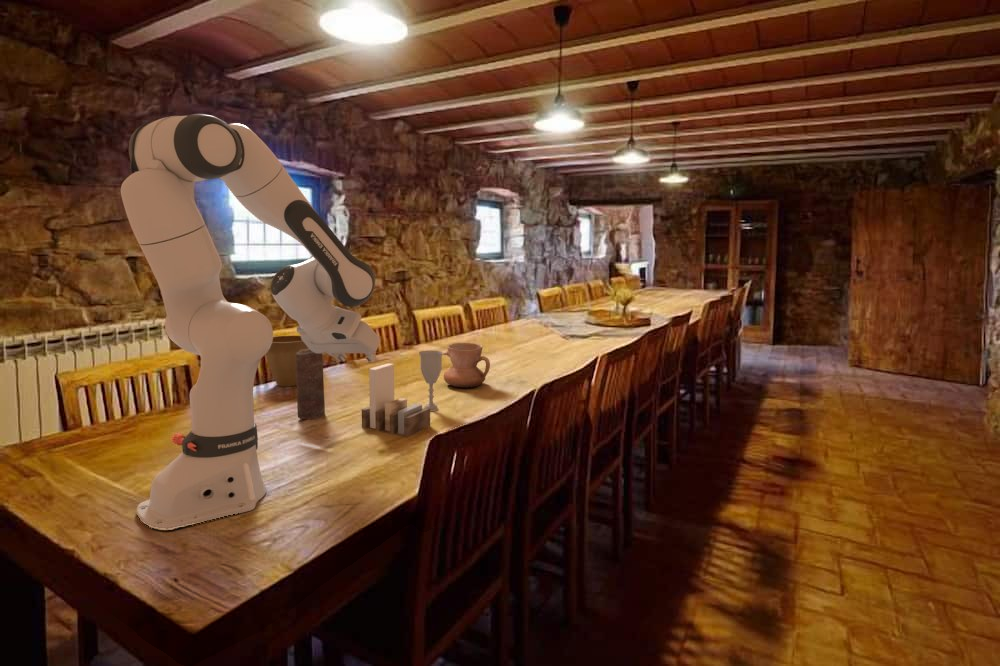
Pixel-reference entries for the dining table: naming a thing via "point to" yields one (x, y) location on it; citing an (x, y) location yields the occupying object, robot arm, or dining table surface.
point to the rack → (411, 422)
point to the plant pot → (284, 359)
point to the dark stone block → (310, 385)
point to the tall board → (380, 389)
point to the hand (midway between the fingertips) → (358, 359)
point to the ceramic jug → (465, 365)
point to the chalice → (431, 372)
